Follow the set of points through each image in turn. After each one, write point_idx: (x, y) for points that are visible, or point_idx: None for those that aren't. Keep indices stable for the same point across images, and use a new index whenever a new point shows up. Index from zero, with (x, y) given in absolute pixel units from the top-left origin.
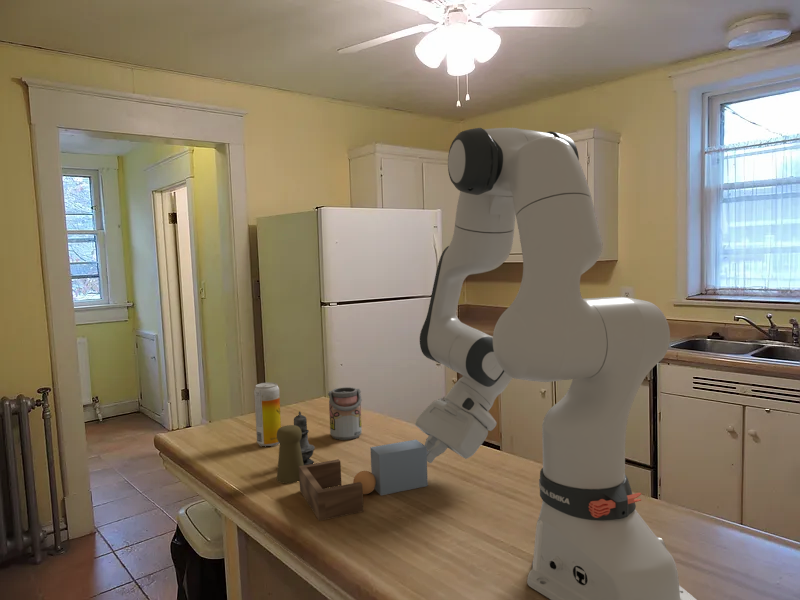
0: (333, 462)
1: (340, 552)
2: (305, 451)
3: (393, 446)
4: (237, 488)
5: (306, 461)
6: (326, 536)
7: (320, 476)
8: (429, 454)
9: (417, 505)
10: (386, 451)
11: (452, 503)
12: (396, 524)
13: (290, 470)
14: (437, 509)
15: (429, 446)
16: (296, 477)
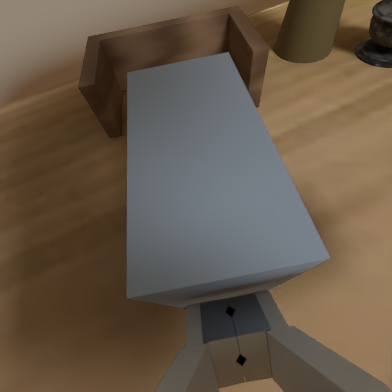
0: (247, 42)
1: (9, 109)
2: (382, 16)
3: (210, 116)
4: (264, 11)
5: (385, 52)
6: (61, 96)
7: (235, 56)
8: (185, 335)
9: (72, 240)
10: (153, 91)
11: (20, 351)
12: (24, 182)
13: (283, 23)
14: (20, 287)
15: (300, 382)
16: (281, 46)
